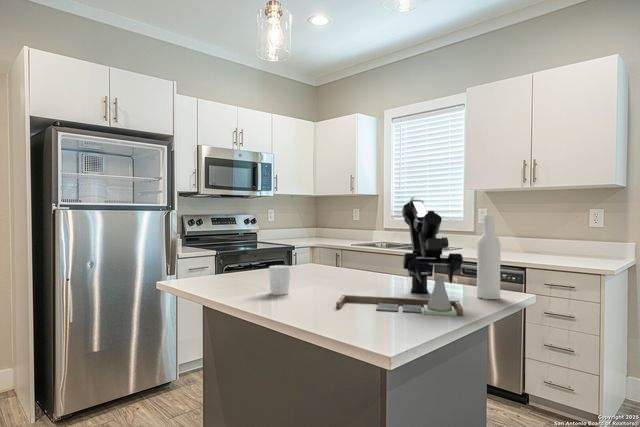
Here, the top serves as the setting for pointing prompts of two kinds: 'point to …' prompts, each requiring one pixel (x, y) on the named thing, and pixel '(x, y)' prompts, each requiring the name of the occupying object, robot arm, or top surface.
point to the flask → (439, 296)
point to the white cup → (279, 279)
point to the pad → (436, 312)
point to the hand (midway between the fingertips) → (436, 282)
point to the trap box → (394, 303)
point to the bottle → (488, 261)
